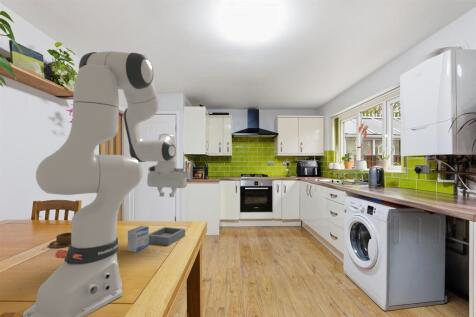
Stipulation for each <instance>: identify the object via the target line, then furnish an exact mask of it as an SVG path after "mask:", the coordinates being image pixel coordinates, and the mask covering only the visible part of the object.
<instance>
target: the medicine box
mask: <svg viewBox="0 0 476 317" xmlns="http://www.w3.org/2000/svg"><path fill="white" fill-rule="evenodd" d="M149 232H150V229H149V226H146V225H140V226H138V227H135V228H133V229H130V230H129V229H128V230H127V251H128V252H134V253H138V252H139V251H142V250H143V249H145V248H147V247H149V246H150V243H149V234H150V233H149Z"/></svg>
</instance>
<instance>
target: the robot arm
mask: <svg viewBox="0 0 476 317" xmlns="http://www.w3.org/2000/svg"><path fill="white" fill-rule="evenodd" d="M78 68H79V69H78V71H77V74H76V79H75V83H74V88H73V99H72V102H73V104H72V118H71V119H72V121H71V127H70V132H69V135H68V136H67V139H66V140H65V142H64V143H63V144H62V145H61V146H60V147H59V148H58V149H57V150H56V151H55V152H53V153H52V154H50V155H48V156H47V157H45V158H44V159H42V161H41V162H40V163H39V164H38V166H37V169H36V171H35V180H36V184H37V185H38V187H40V189H41V190H42V191H43V192H44V193H46V194H51V195H62V196H64V195H65V196H71V195H73V196H74V195H85V194H96V196H95V198H94V200H92V202H90V204H87V205H85V206H83V207H82V208H80V209H79V210H78V211H76V212H75V213H74V214H73V216H72V217H71V244H69V245H70V246H69V247H67V248H68V249H67V250H64V249H58V250H56V252H55V253H54V257H55V258H58V259H61V260H62V259H63V262H62V264H60V265H59V267H58V268H57V269H55V271H54V272H52V273H51V275H50V276H49V277H48V278H47V279H46V280H45V281H44V282H43V283H42V284H41V285H40V286H39V288H38V291H37V294H36V297H35V303H34V304H33V305H31V306H30V307H28V308H26V309H25V310H24V311H23V313H22V317H86V316H87V315H89V314H91V313H94V312H95V311H97V310H99V309H100V308H103V307H105V306H106V305H108V304H110V303H112V302H113V301H115V300H116V299H118V298H121V297H122V296H123V289H122V288H123V281H122V279H121V278H122V277H121V274H120V269H119V261H118V260H119V259H118V253H117V252H118V251H119V238H118V236H117V227H118V216H119V210H120V207H121V205H122V203H123V202H124V199H125V198H126V196H127V195H128V194H129V193H130V192H131V191H132V190H133V189H134V188H136V187H137V186H138V185H139V184H140V182H141V180H142V178H143V167H142V165H141V164H140V163H145V162H157V164H154V165H152V166H149V167H148V169H147V170H148V173H147V182H146V183H147V184H146V185H147V186H148V187H150V188H153V187H154V188H157V191H158V193H159V197H165V192H164V191H163V190H162V189H163V188H167V189H168V188H169V189H170V188H171V189H170V190H171V192H170V193H169V198H174V197H175V193H176V191H177V189H184V188H186V187H187V186H188V182H187V171H186V170H185V169H184V168H182V167H181V168H177V150H178V149H177V140H176V136H175V135H173V134H170V133H169V134H168V133H161V134H159V135H158V139H144V138H142V137H141V132H140V127H139V124H141V123H143V122H145V121H147V120H149V119H151V118H153V116H155V114H157V112H158V111H159V109H160V108H159V107H160V103H159V97H158V93H157V90H156V88H155V84H154V82H153V80H154V69H153V65H152V62H151V61H150V60H149V59H148V58H147V57H146V56H145V54H141V53H138V52H122V51H115V50H114V51H112V50H108V51H100V52H99V51H98V52H97V51H91V52H89V53H88V52H87V53H85V54H83V55H82V57H81V58H80V60H79V64H78ZM119 90H122V92H123V95H124V97H125V99H126V103H127V108H126V109H125V110H124V113H123V121H124V127H125V131H126V132H125V133H126V136H127V140H128V148H129V149H128V151H129V155H130V156H127V155H122V154H96V153H95V150H96V147H97V146H98V145H101V144H104V143H107V142H108V141H111V140H112V139H114V138H115V137H116V135H117V134H118V132H119V110H120V109H119V106H120V105H119V104H120V100H119V98H120V97H119Z"/></svg>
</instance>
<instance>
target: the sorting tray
mask: <svg viewBox="0 0 476 317" xmlns="http://www.w3.org/2000/svg"><path fill="white" fill-rule="evenodd" d="M185 237H186V229H185V228H181V227H179V228H178V227H170V226H164V227H161V228H159V229H157V230H154V231H153V232H150V233H149V244H155V245H163V246H168V247H169V246H171V245H172V244H174V243H176V242H177V241H179V240H180V239H182V238H185Z"/></svg>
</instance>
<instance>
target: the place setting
mask: <svg viewBox="0 0 476 317" xmlns="http://www.w3.org/2000/svg"><path fill="white" fill-rule="evenodd" d="M55 237H56V240H53V241H52V242H51V241H50V243H49V245H48V246H49V248H51V249H65V248H69V246H70V244H71V232H63V233H60V234H57V235H56V236H55ZM54 243H55V244H58V245H59V246H58V245H57V246H56V245H54ZM52 244H53V245H52ZM45 249H47V247H46V248H41V250H45Z"/></svg>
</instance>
